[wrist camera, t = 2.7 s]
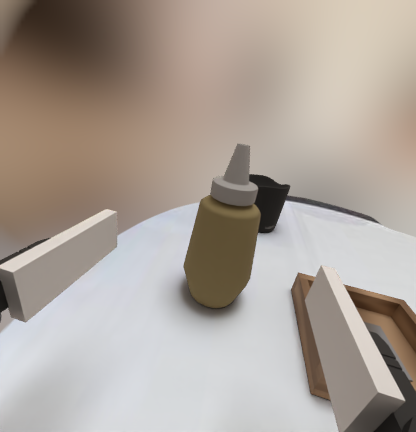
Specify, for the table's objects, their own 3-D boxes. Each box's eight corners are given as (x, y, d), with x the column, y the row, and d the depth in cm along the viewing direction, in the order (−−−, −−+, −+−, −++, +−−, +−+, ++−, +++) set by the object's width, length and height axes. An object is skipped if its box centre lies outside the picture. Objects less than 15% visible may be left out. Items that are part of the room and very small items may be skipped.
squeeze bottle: (180, 268, 30) (197, 134, 23) (235, 271, 32) (268, 145, 24) (179, 317, 23) (205, 143, 16) (251, 318, 24) (305, 159, 17)
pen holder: (235, 229, 44) (246, 182, 40) (233, 212, 53) (242, 171, 49) (280, 237, 44) (296, 191, 40) (271, 218, 53) (284, 179, 48)
